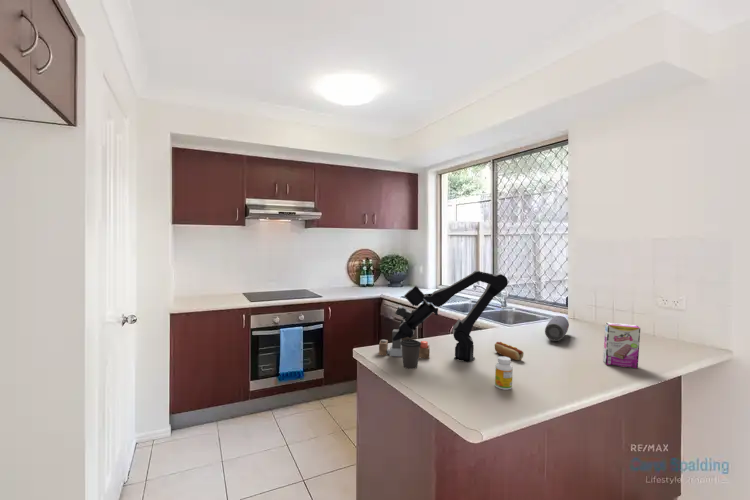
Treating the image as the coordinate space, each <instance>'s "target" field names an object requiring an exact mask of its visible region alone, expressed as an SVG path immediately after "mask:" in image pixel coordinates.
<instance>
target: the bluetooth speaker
mask: <svg viewBox="0 0 750 500" xmlns="http://www.w3.org/2000/svg"><path fill="white" fill-rule="evenodd" d="M569 323H570V322H569V321H568V319H567V318H566V317H565V316H562V315H556V316H554V317H552V318H551V319H550V320H549V321H548V322H547V324H546V326H545V328H544V334H545V336H546V338H548V339H549V340H551V341H553V342H557V341H558V342H559V341H561V340H562V339H564V337H565V336H566V334H567V333H568V330H569V327H570V324H569Z"/></svg>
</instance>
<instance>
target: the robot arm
mask: <svg viewBox="0 0 750 500" xmlns="http://www.w3.org/2000/svg"><path fill="white" fill-rule="evenodd" d="M478 282H481V283H485V284H486V285H487V286H486V288H485V290H484V291H483V292H482V294H481V295H480V296H479V299H478V300H477V301H476V302H475V304H474V305H473V307H472V308H471V309H470V310H469V312H468V313H467V315H466V316H465V318H463V319H462V320H461V319H460V318H458V319H457V321H456V322H455V324H453V326H452V327H453V328H452V334H453V338H454V340H455V341H456V344H455V346H454V357H453V359H454V360H457V361H460V362H464V363H470V362H472V361H474V360H475V359H476V358H475V356H474V350H475V349H474V346H475V345H474V340H473V338H472V336H471V333H472V330H473V326H474V324H475V323H476V322H477V320H478V319H479V318H480V317H481V315H482V314H483V312H484V311H485V310H486V308H487V307H488V305H490V303H491V302H492V300H493V299H494V298H495V297H496V296H497V295H498V294H500V293H501V292H502V291H503V290H504V289H505V288H507V287H508V284H509V280H508V278H507V277H506V276H505V275H504V274H502V273H500V272H499V273H497V272H496V273H493V274H492V273H489V272H485V271H480V270H478V269H477V270H476V269H475V270H473V272H471V273H470V274H469V275H466V276H465V277H463V278H461V279H460V280H458V281H456V282H454V283H453V284H450V285H449V286H447V287H443V288H439V289H437V290H435V291H433V292H432V293H423V292H422V290H421V289H420V288H419V286H417V285H415V286H414V287H412V288H410V289H409V290H408V291H407V292H406V293H405V294H404V295H403V297H404V298H405V299H406V300H407V301H408V302H409V303H410V305H412V306H413V307H414V306H415V307H417V308H415V309H412V310H409V309H408V308H406V307H404V306H402V305H401V304H399V305H398V307H397V309H396V311H395V315H397V316H399V317H402V319H401V320H400V324H399V328H398V329H397V330H399V331H398V332H397V333H396V335H395V336H394V337H393V341H396V340H399V339H401V340H402V339H406V338H409V339H411V338H413V337H414V334H415V331H416V329H417V328H418V327H419V326H420V325H421V324H423V323H424V322H425V320H426V319H427V318H429V317H430V316H431V315H432V314H433V313H434V315H435V316H438V315H439V308H438V307H442V306H444V305H445V304H446V303H447V302H448V301H450V299H452V297H454V296H455V295H457V294H458V293H460V292H462V291H463V290H464V291H465V289H467V288H469V287H471V286H472V285H474V284H477V283H478Z"/></svg>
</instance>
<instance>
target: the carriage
mask: <svg viewBox="0 0 750 500" xmlns="http://www.w3.org/2000/svg"><path fill="white" fill-rule="evenodd" d="M398 331H399V330H398V329H395V328H394V329H393V330H392V337H391V339H392V341H391V344H390V345H391V346H390V349H389V350H390V355H389V356H390V357H402V346H401V344H400V343H401V341H402V339H399V340H396V341H393V337H394V336H395V335H396V333H397V332H398Z"/></svg>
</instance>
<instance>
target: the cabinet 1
mask: <svg viewBox="0 0 750 500" xmlns="http://www.w3.org/2000/svg"><path fill="white" fill-rule="evenodd" d="M388 345H389V341H388V339H380V340H379V344H378V347H379V348H378V355H379V356H384V357H385V356H387V355H388V354H387V349H388V348H389V346H388ZM388 350H389V349H388Z"/></svg>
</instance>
